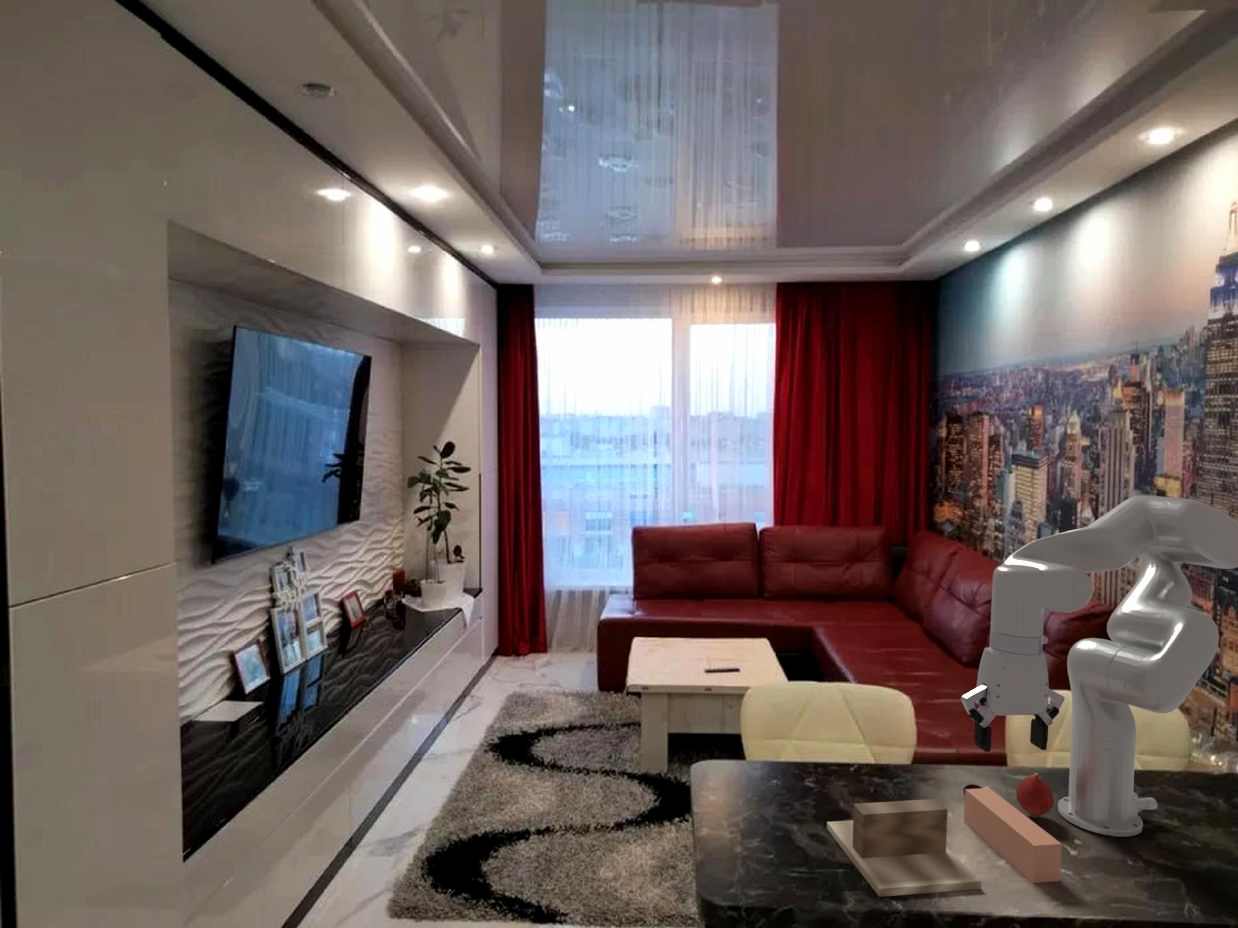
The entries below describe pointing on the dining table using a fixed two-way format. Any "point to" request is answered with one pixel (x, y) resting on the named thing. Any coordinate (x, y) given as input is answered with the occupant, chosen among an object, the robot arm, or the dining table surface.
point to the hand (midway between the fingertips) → (1010, 747)
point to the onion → (1034, 796)
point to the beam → (1013, 835)
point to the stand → (903, 848)
